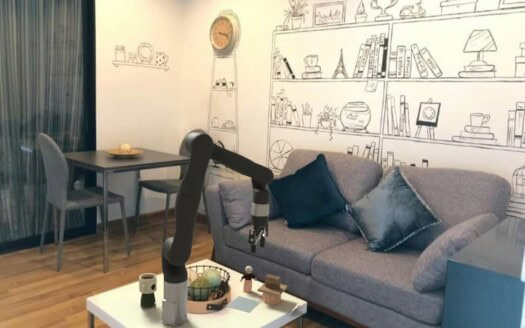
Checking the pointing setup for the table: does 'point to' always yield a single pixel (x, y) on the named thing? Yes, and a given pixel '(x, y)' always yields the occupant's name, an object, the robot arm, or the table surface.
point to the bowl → (271, 299)
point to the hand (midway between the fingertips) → (257, 249)
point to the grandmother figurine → (248, 279)
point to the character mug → (147, 289)
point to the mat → (243, 304)
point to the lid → (273, 286)
